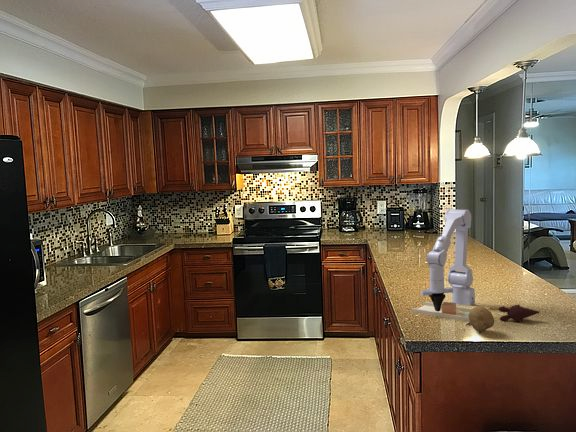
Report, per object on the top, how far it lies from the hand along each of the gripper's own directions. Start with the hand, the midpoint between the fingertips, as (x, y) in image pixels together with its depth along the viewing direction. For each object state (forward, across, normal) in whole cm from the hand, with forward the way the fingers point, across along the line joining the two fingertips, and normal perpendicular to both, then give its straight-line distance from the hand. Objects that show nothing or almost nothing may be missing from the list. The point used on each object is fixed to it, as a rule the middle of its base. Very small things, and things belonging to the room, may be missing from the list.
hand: (437, 310), depth 204 cm
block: (+1, -4, +3) cm, 5 cm away
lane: (+3, -4, +1) cm, 5 cm away
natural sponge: (+3, -5, +23) cm, 24 cm away
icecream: (+3, -26, +17) cm, 32 cm away
